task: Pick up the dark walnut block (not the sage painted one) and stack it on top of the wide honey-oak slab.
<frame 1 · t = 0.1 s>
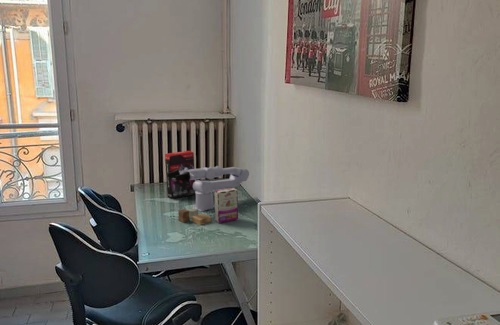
hand: (171, 176, 226), 22 cm above the table, tool horizontal, fingers open, 7 cm apart
oak slab: (201, 222, 223), on the table
graphics card box: (181, 196, 268), on the table
walnut block: (184, 220, 224), on the table
sage block: (193, 217, 230), on the table
candy bar box: (226, 220, 224), on the table
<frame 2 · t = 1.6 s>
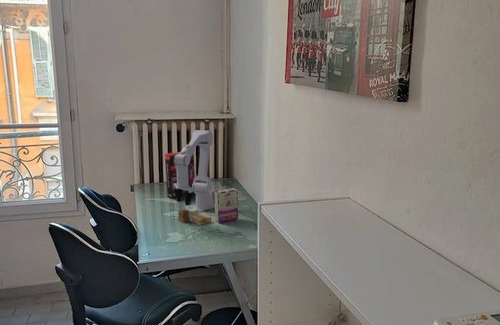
hand: (183, 203, 222), 9 cm above the table, tool pointing down, fingers open, 7 cm apart
nothing on the table moved.
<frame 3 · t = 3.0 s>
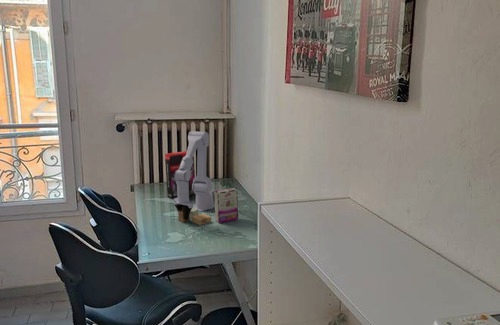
hand: (183, 218, 223), 1 cm above the table, tool pointing down, fingers closed on walnut block, 4 cm apart
walnut block: (184, 220, 224), on the table, touching gripper
everything else where it was.
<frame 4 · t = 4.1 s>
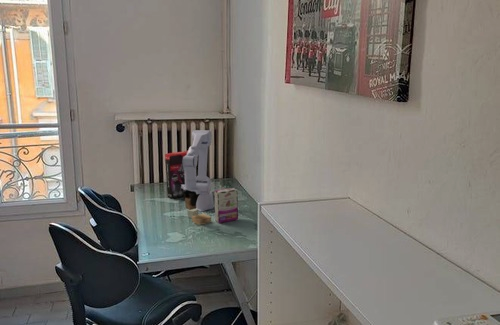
hand: (191, 204, 221), 9 cm above the table, tool pointing down, fingers closed on walnut block, 4 cm apart
walnut block: (190, 208, 222), point 7 cm above the table, touching gripper
everything else where it was.
when the fingers open (5 cm above the table, at t = 5.5 s): walnut block drops 1 cm, point 3 cm above the table.
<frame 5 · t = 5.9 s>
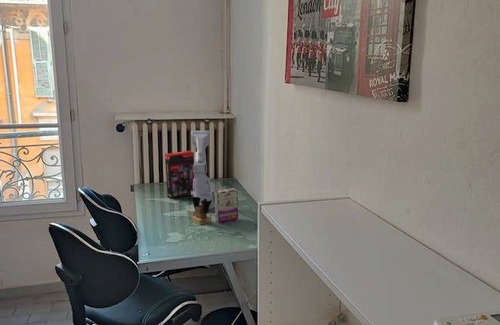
hand: (201, 211, 221), 5 cm above the table, tool pointing down, fingers open, 7 cm apart
walnut block: (201, 217, 222), point 3 cm above the table
everything else where it was.
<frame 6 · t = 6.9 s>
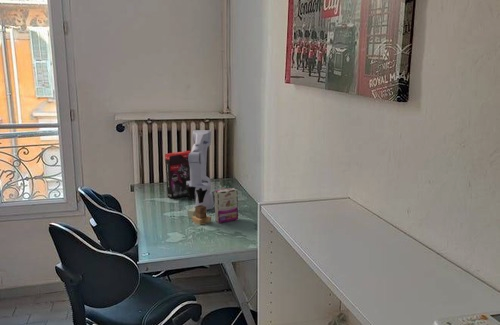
hand: (196, 201, 223), 10 cm above the table, tool pointing down, fingers open, 7 cm apart
oak slab: (201, 222, 223), on the table, touching walnut block
walnut block: (201, 216, 222), point 3 cm above the table, touching oak slab
everything else where it was.
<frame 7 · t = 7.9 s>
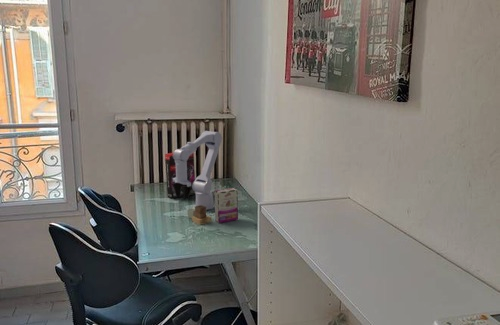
hand: (182, 197, 229), 10 cm above the table, tool pointing down, fingers open, 7 cm apart
nothing on the table moved.
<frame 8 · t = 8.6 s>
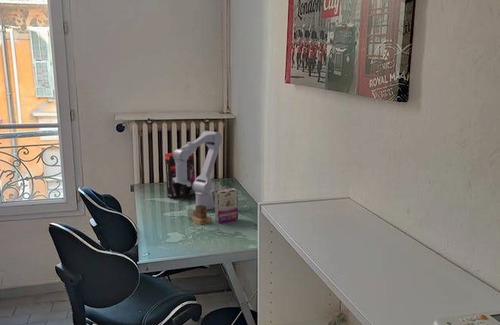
hand: (182, 197, 229), 10 cm above the table, tool pointing down, fingers open, 7 cm apart
nothing on the table moved.
at the end: walnut block 0.4 cm off-centre on the oak slab, point 3.0 cm above the oak slab's base; walnut block tilted 1°; the gripper is holding nothing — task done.
